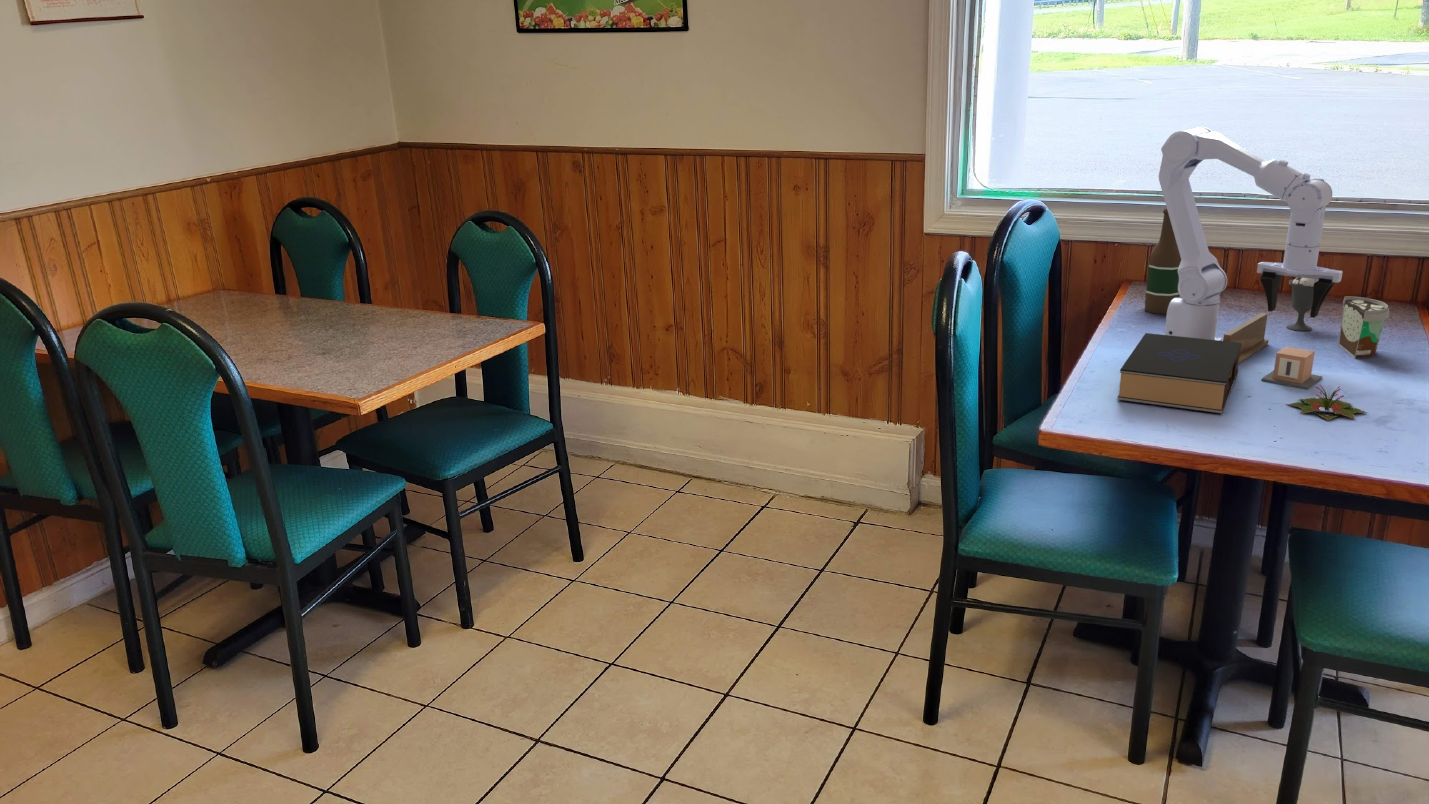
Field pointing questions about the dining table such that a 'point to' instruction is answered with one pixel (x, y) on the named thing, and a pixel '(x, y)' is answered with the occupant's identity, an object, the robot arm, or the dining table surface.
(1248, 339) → the walnut screen
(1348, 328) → the food container
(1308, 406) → the lily flower
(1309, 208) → the robot arm
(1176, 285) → the beer bottle
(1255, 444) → the dining table surface
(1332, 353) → the dining table surface
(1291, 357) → the letter cube
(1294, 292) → the sundae
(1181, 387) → the book
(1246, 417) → the dining table surface
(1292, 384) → the charcoal pad
